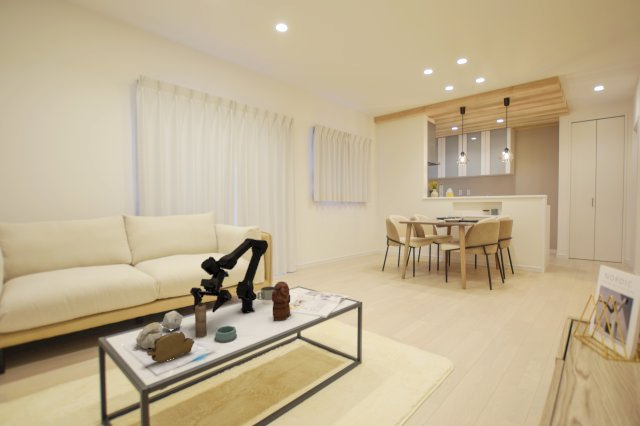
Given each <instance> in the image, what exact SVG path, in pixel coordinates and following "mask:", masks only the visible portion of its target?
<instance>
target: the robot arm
mask: <svg viewBox="0 0 640 426" xmlns="http://www.w3.org/2000/svg"><path fill="white" fill-rule="evenodd" d="M268 247H269V243H268V241H267V240H265V239H255V238H250V237H249V238H245V239H244V241H243V242H242V243H240V244H239V245H238V246H236V248H235V249H234V250H232V251H231V252H230V253H228V254H225V255H222V256H221V257H220V258H219V259H218V260H216V259H215V258H214V257H213V256H209V257H208V258H207V259H204V260H203V261H202V262H201V263H200V268H201V269H202V270H203V271H204V272H205V273H207V275H209V276H211V277H210V278H201V280H200V285H199V287H192V288H191V289H190V290H189V293H190V294H191V296H192V297H193V300H194V301H193V311H194V312H195V306H197V305H198V303H200V302H202V301H203V298H204V297H205V296H209V297H211V296H212V297H216V301H215V302H214V305H213V308H212V310H211V312H212V313H215V312H216V311H217V310H218V309H220V308H221V307H222V306H223V305H224V304H225V303H228V302H230V301H232V298H233V295H232V293H231V292H230V291H229V290H228V289H223V287H224V285H223V283H224V280H225V278H229V277H230V275H229V272H228V271H231V270H233V269H234V268H235V267H236V266H237V263H238V261H239V259H240V258H241V257H242V256H244V254H246V253H247V252H248V251H249V250H250V249H251V253H252V254H251V257H250V260H249V263H248V266H247V269H246V271H245V274H244V277H243V279H242V280H240V281H238V283H237V287H236V288H235V294H236V296H237V299H239V300H241V308H240V311H241V313H243V314H245V313H246V314H247V313H252V312H255V309H254V302H255V300H256V299H257V296H258V294H257V293H256V292H254V289H255V287H254V280H255V277H256V272H257V270H258V267H259V264H260V261H261V258H262V256H264V254H266V253H267V250H268ZM227 270H228V271H227ZM201 287H203V289H204V290H202V289H201Z"/></svg>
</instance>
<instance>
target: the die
mask: <svg viewBox="0 0 640 426" xmlns="http://www.w3.org/2000/svg"><path fill="white" fill-rule="evenodd" d="M183 318H184V316H183V315H182V314H180V313H179V312H178V311H176V310H172V311H169V312H167V313H165V314H164V318H163V320H162V322H161V324H160V325H161V327H162V328H165V329H166V330H168V329H175V330H177V329H179V328H180V327H181V324H182V323H183ZM176 328H177V329H176Z"/></svg>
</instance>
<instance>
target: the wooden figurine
mask: <svg viewBox="0 0 640 426" xmlns="http://www.w3.org/2000/svg"><path fill="white" fill-rule="evenodd" d="M271 302H272V303H273V304H272V318H273V321H276V322H280V321H286V320H287V319H288V318H289V317H290V315H291V307H290V303H291V294H290V288H289V285H288V283H287V282H286V281H278V282H276V284H275V285H274V288H273V290H272V293H271Z"/></svg>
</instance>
